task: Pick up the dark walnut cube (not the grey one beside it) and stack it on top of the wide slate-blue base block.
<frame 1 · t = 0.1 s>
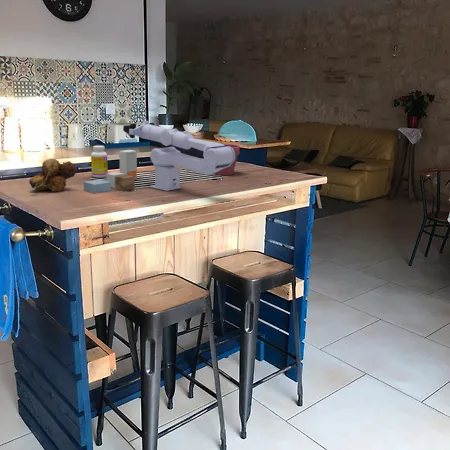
hand: (131, 127, 202), 22 cm above the countertop, tool horizontal, fingers open, 7 cm apart
grey block: (115, 186, 196), on the countertop
plant pot: (223, 173, 229), on the countertop
skincare box: (128, 179, 210), on the countertop
supplement bottle: (100, 176, 214), on the countertop
seed pod: (51, 190, 187), on the countertop
walnut block: (125, 189, 191), on the countertop
base block: (97, 191, 188), on the countertop
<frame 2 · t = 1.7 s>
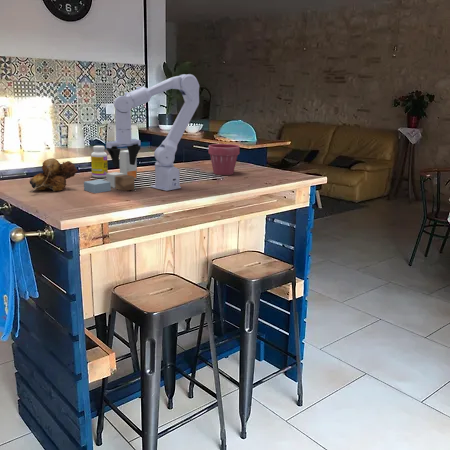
hand: (124, 165, 189), 9 cm above the countertop, tool pointing down, fingers open, 7 cm apart
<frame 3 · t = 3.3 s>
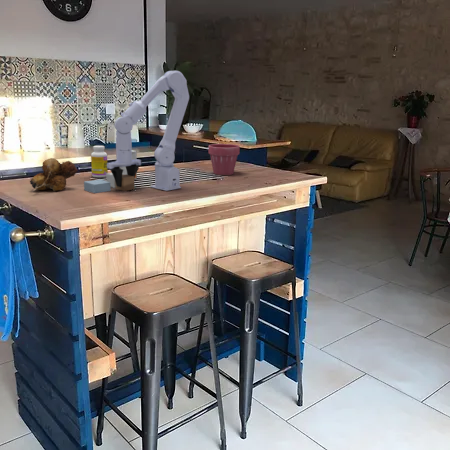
hand: (124, 185, 191), 1 cm above the countertop, tool pointing down, fingers closed on walnut block, 5 cm apart
walnut block: (125, 189, 191), on the countertop, touching gripper
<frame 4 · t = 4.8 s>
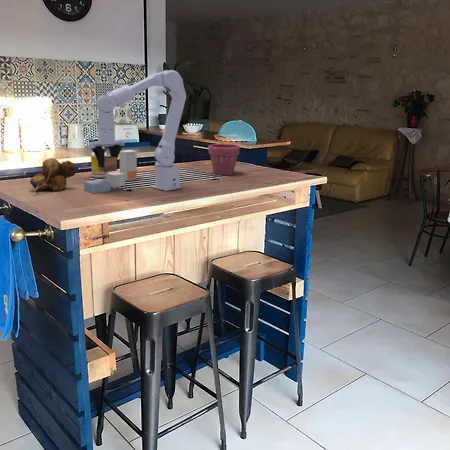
hand: (107, 166, 187), 9 cm above the countertop, tool pointing down, fingers closed on walnut block, 5 cm apart
walnut block: (107, 170, 187), point 7 cm above the countertop, touching gripper
when the fingers open (6 cm above the countertop, at t = 6.5 s): walnut block drops 1 cm, resting on base block.
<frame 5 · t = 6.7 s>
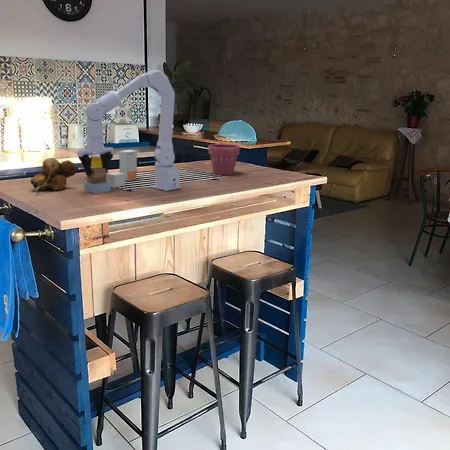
hand: (96, 174, 186), 6 cm above the countertop, tool pointing down, fingers open, 7 cm apart
walnut block: (96, 182, 187), point 3 cm above the countertop, touching base block
base block: (97, 191, 188), on the countertop, touching walnut block
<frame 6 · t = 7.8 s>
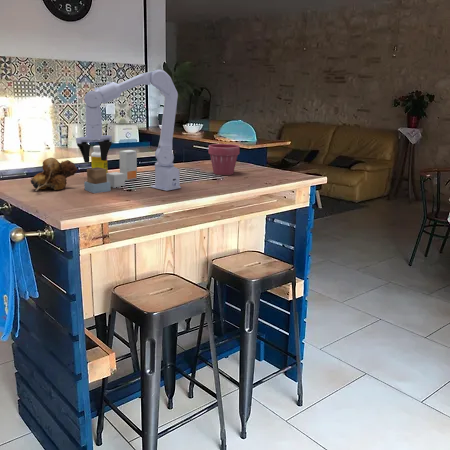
hand: (95, 161, 187), 10 cm above the countertop, tool pointing down, fingers open, 7 cm apart
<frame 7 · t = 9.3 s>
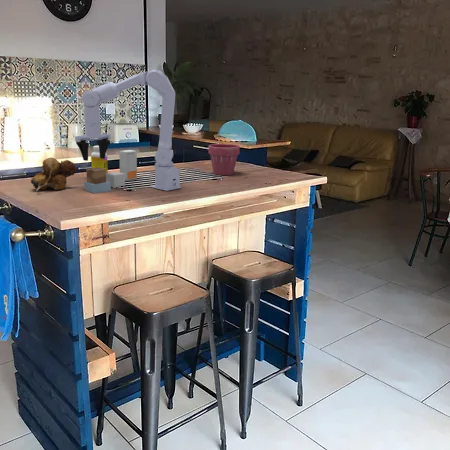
hand: (94, 159, 192), 10 cm above the countertop, tool pointing down, fingers open, 7 cm apart
at the end: walnut block 0.3 cm off-centre on the base block, point 3.5 cm above the base block's base; walnut block tilted 0°; the gripper is holding nothing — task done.
